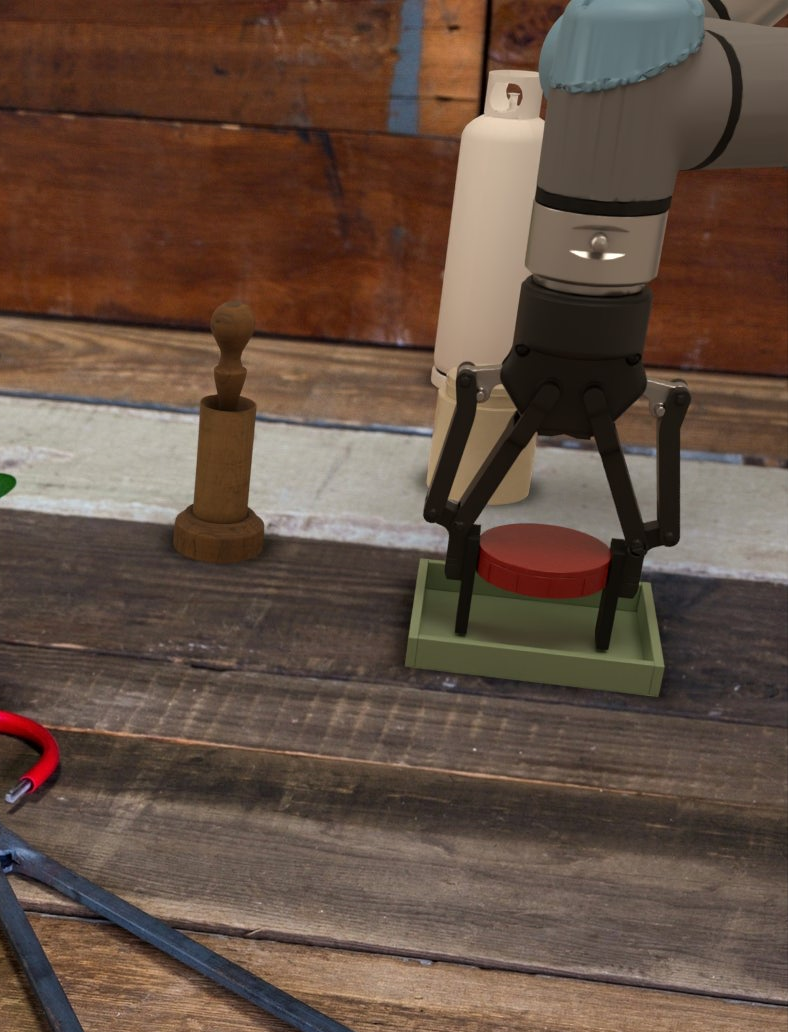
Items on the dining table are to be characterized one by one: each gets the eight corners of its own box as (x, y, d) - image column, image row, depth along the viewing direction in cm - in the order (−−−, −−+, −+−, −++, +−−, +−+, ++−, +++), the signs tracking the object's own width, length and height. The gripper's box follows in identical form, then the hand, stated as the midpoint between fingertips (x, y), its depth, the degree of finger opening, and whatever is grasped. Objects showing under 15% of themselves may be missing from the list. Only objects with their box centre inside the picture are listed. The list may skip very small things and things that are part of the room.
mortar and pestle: (258, 572, 119) (279, 319, 110) (167, 564, 120) (180, 312, 111) (265, 537, 124) (285, 294, 116) (178, 530, 125) (191, 288, 117)
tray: (644, 616, 113) (650, 582, 112) (657, 703, 102) (665, 666, 101) (415, 591, 116) (420, 557, 115) (403, 673, 105) (408, 637, 104)
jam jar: (527, 480, 137) (545, 366, 132) (528, 515, 130) (547, 395, 125) (428, 471, 138) (442, 357, 134) (423, 504, 131) (438, 385, 127)
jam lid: (485, 541, 111) (489, 515, 111) (613, 560, 109) (618, 534, 108) (464, 586, 105) (468, 559, 104) (600, 608, 102) (605, 580, 101)
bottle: (416, 390, 158) (454, 73, 145) (450, 370, 164) (491, 65, 151) (497, 406, 154) (545, 82, 141) (530, 386, 160) (578, 73, 147)
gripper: (402, 280, 97) (362, 637, 108) (787, 309, 93) (705, 677, 103) (410, 252, 103) (372, 592, 114) (770, 278, 99) (695, 627, 110)
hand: (530, 632), depth 109 cm, fingers closed on jam lid, 8 cm apart
